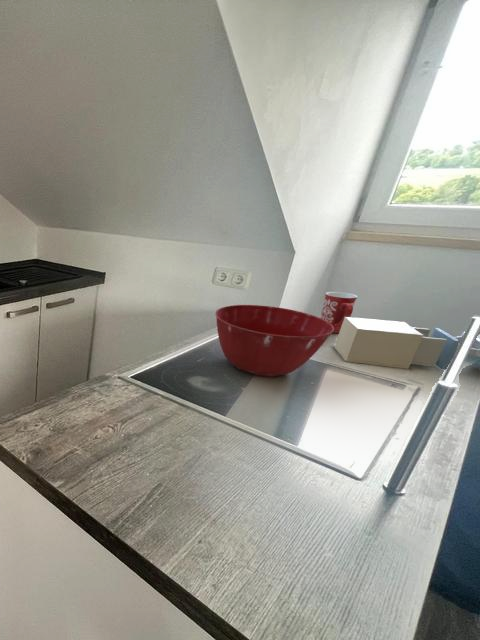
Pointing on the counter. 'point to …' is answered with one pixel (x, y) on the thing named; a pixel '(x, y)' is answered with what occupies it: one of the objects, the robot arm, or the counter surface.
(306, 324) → the mixing bowl
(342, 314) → the mug
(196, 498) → the counter surface
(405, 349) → the beige rectangular block
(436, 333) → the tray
